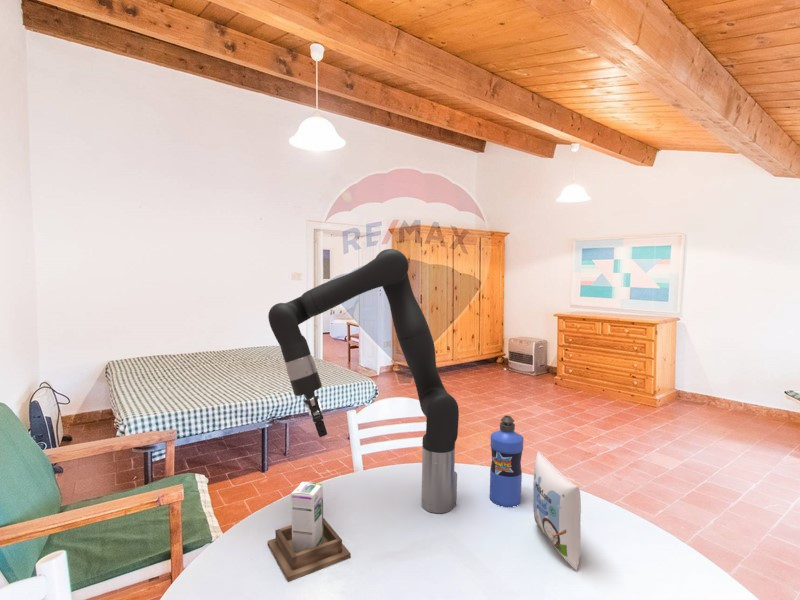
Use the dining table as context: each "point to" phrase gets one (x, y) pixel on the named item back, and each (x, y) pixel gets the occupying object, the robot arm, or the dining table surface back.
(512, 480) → the water bottle
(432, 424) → the robot arm
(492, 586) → the dining table surface
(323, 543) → the holder stand
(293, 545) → the syrup box
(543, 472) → the pouch
